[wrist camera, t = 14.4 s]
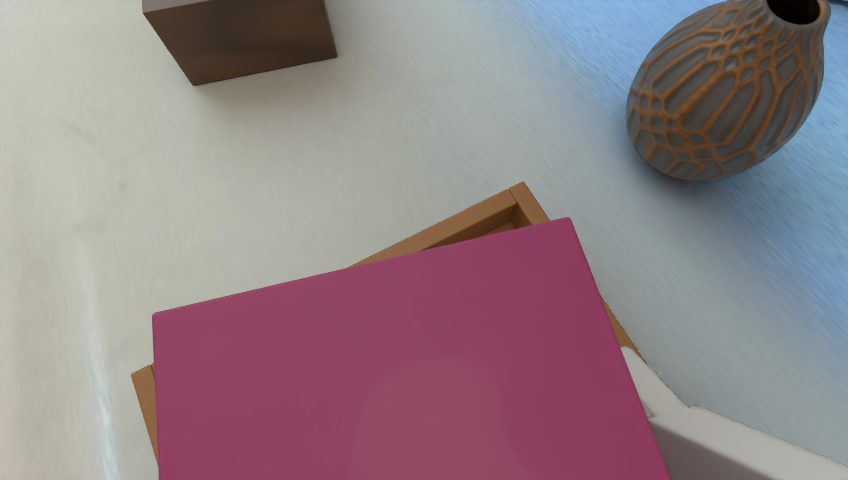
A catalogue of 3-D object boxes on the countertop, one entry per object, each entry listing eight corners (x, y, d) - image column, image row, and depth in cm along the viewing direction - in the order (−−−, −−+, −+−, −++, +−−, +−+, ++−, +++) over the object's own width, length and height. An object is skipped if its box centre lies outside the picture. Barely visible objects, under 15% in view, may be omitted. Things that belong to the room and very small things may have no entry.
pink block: (490, 334, 13) (570, 214, 6) (551, 540, 12) (774, 739, 4) (310, 379, 13) (150, 312, 6) (343, 599, 11) (175, 937, 4)
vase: (774, 148, 25) (943, 10, 17) (685, 229, 23) (824, 122, 15) (667, 64, 27) (773, -96, 19) (579, 134, 25) (652, -7, 17)
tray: (514, 205, 24) (523, 180, 21) (726, 530, 19) (770, 545, 16) (164, 380, 21) (129, 373, 19) (304, 815, 16) (282, 884, 14)
